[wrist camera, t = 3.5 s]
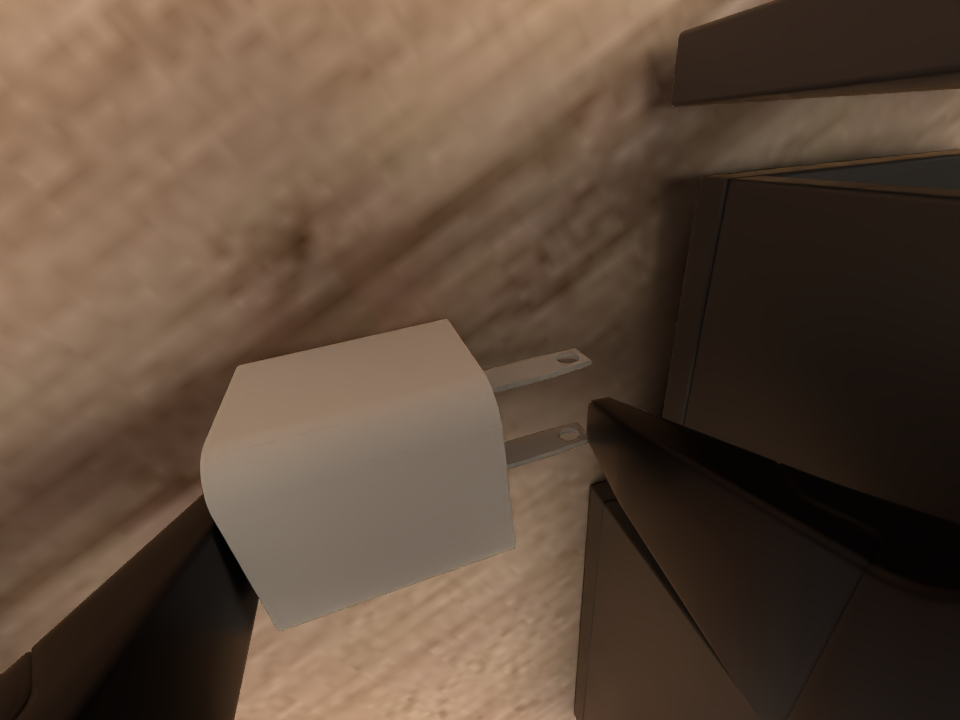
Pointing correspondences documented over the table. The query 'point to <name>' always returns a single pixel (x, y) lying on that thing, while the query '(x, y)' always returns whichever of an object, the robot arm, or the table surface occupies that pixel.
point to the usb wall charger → (368, 466)
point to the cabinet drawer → (827, 260)
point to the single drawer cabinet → (641, 634)
